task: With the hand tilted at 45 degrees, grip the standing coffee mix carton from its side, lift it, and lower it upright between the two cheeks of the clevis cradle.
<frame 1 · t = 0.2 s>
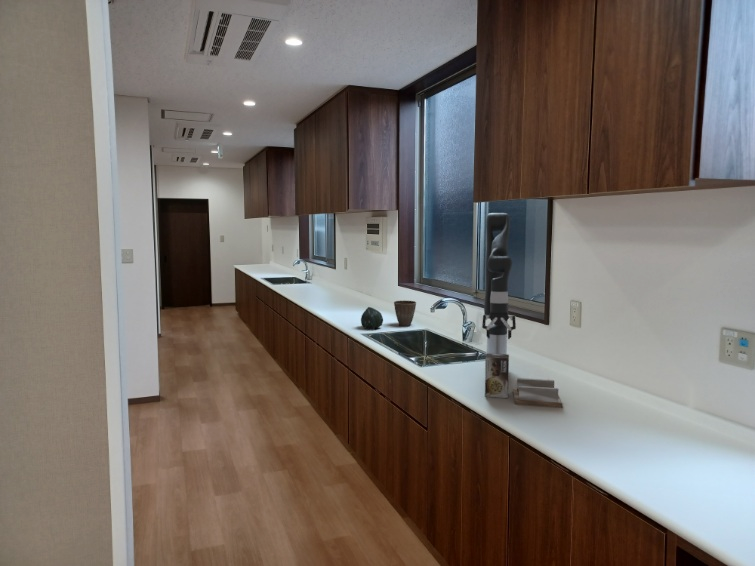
hand: (498, 338, 229), 18 cm above the worktop, tool pointing down, fingers open, 8 cm apart
clevis cradle: (536, 399, 202), on the worktop
squash: (372, 328, 343), on the worktop
coffee box: (496, 395, 207), on the worktop
plant pot: (404, 325, 352), on the worktop
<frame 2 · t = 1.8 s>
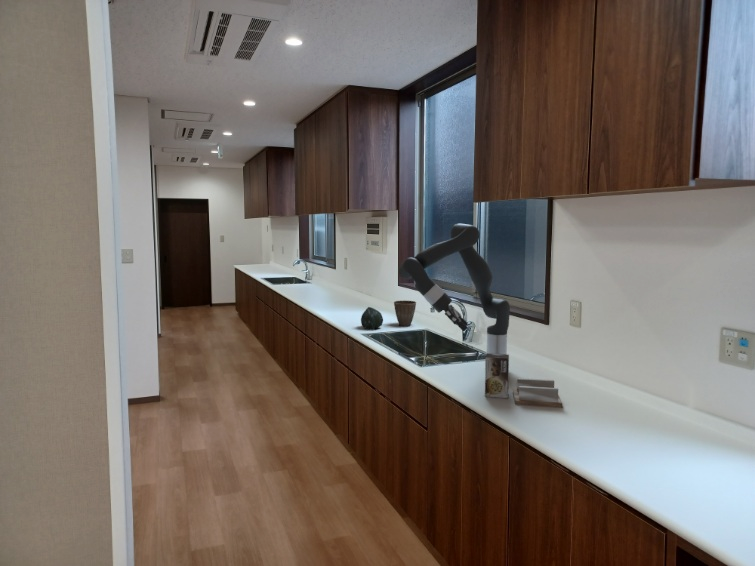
hand: (465, 327, 207), 27 cm above the worktop, tool tilted 45°, fingers open, 8 cm apart
nothing on the worktop moved.
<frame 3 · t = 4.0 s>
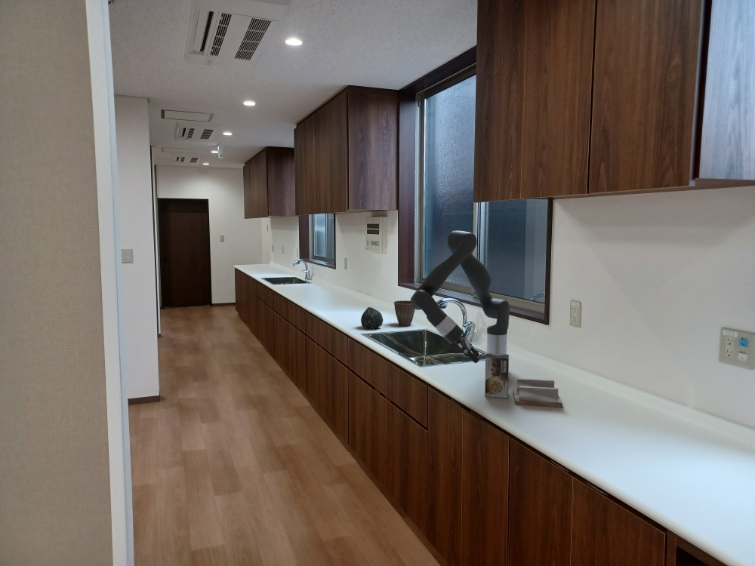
hand: (477, 359, 207), 14 cm above the worktop, tool tilted 45°, fingers open, 8 cm apart
nothing on the worktop moved.
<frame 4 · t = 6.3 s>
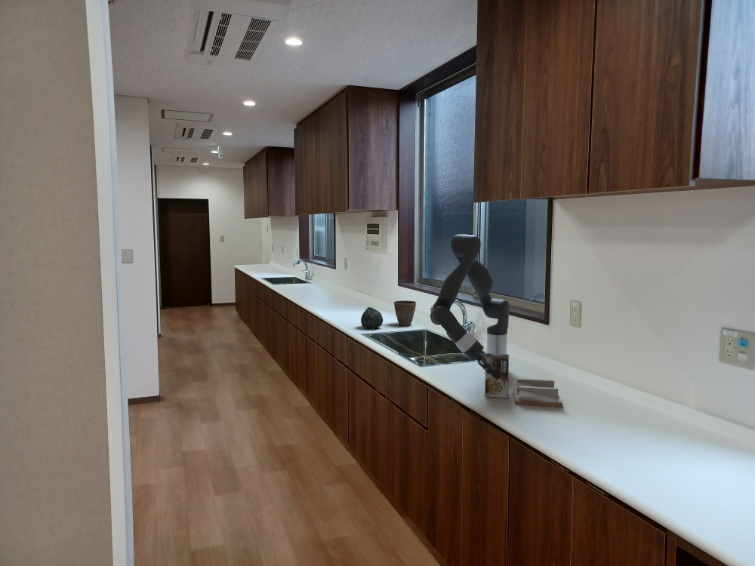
hand: (498, 375, 206), 8 cm above the worktop, tool tilted 45°, fingers closed on coffee box, 6 cm apart
coffee box: (496, 395, 207), on the worktop, touching gripper
everything else where it was.
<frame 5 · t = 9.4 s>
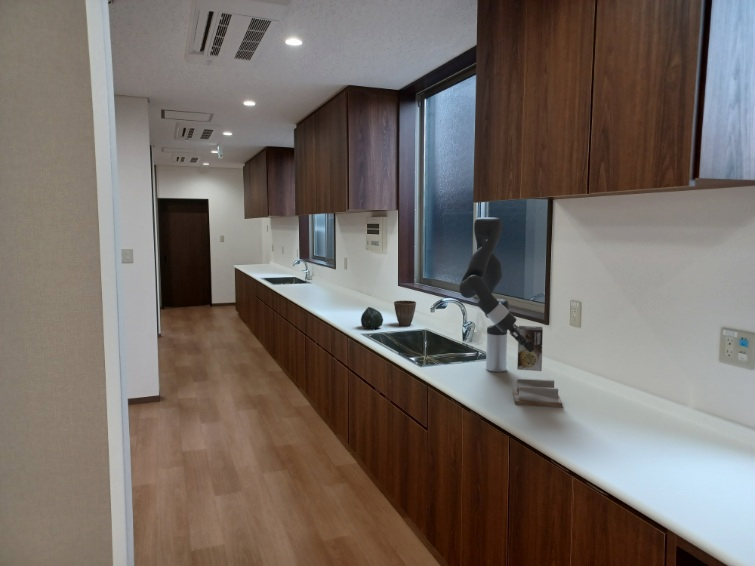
hand: (531, 348, 200), 20 cm above the worktop, tool tilted 45°, fingers closed on coffee box, 6 cm apart
coffee box: (529, 369, 201), point 12 cm above the worktop, touching gripper
everything else where it was.
when the fingers open (11 cm above the worktop, at t = 12.6 s): coffee box drops 1 cm, resting on clevis cradle.
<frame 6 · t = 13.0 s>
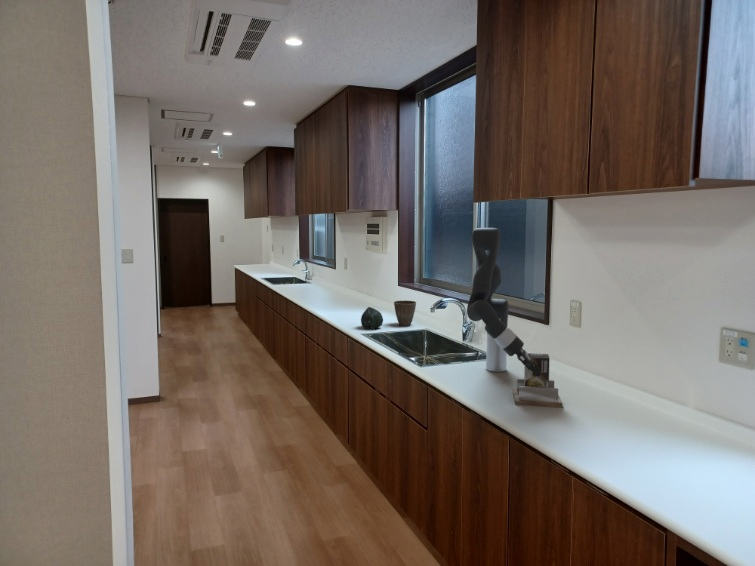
hand: (538, 371, 200), 11 cm above the worktop, tool tilted 45°, fingers open, 8 cm apart
coffee box: (535, 396, 202), point 1 cm above the worktop, touching clevis cradle
everything else where it was.
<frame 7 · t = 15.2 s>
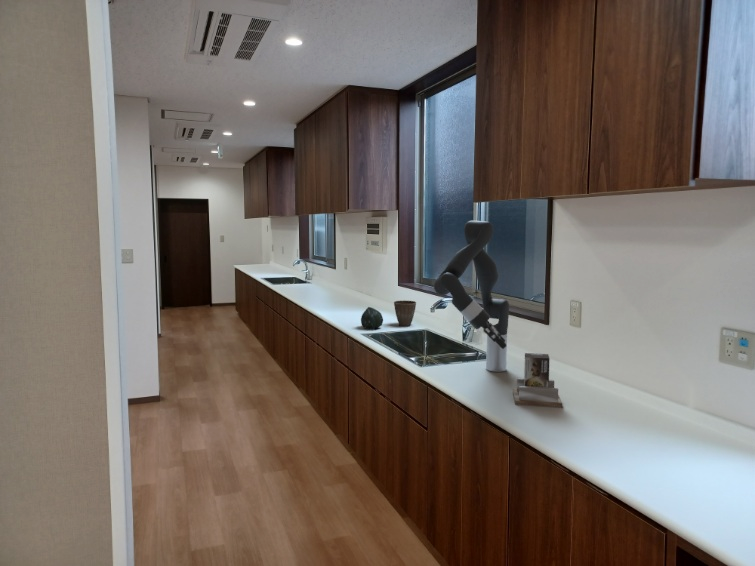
hand: (504, 344, 202), 21 cm above the worktop, tool tilted 45°, fingers open, 8 cm apart
nothing on the worktop moved.
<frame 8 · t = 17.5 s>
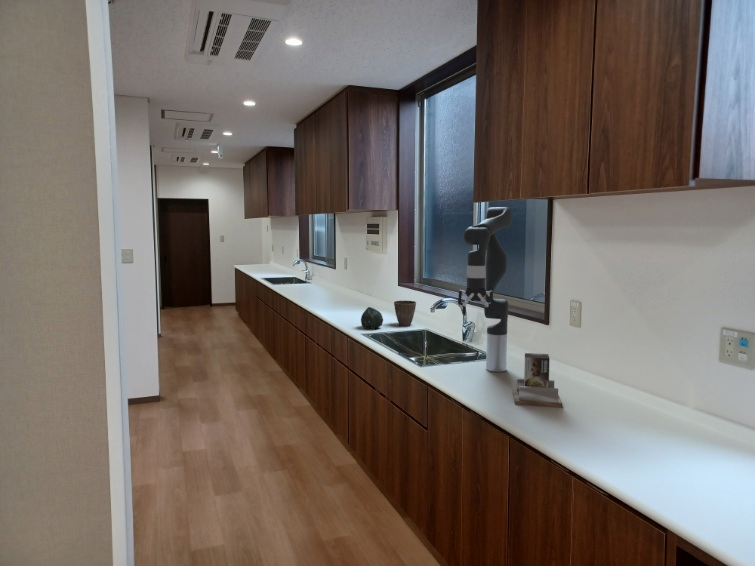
hand: (475, 315, 215), 30 cm above the worktop, tool pointing down, fingers open, 8 cm apart
nothing on the worktop moved.
at the end: coffee box 0.3 cm off-centre on the clevis cradle, point 1.3 cm above the clevis cradle's base; coffee box tilted 0°; the gripper is holding nothing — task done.
